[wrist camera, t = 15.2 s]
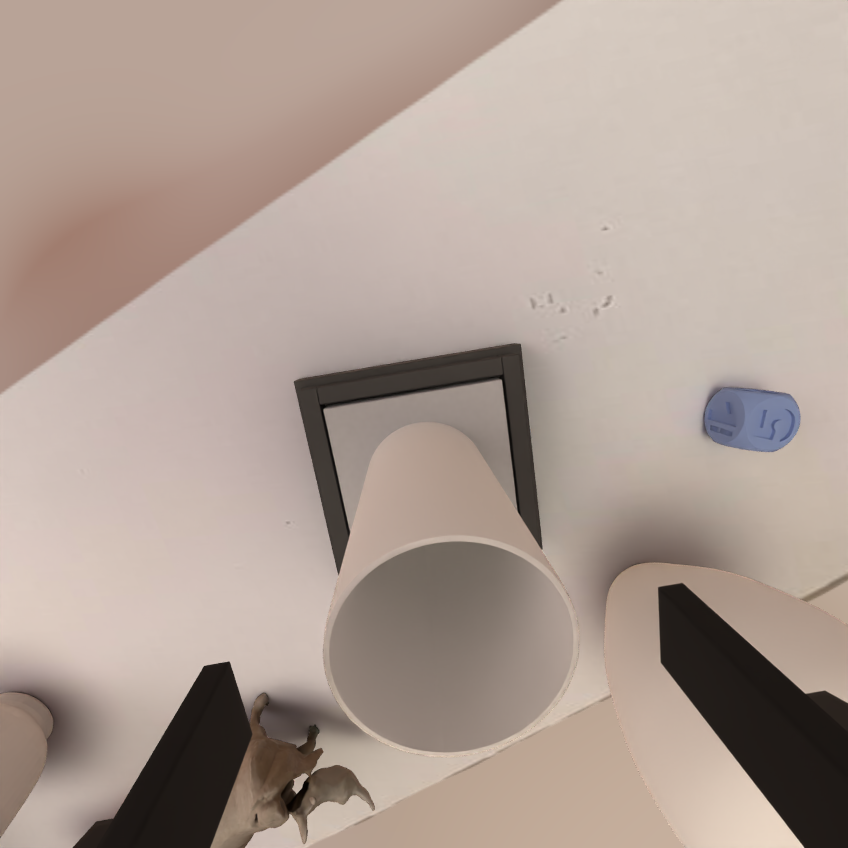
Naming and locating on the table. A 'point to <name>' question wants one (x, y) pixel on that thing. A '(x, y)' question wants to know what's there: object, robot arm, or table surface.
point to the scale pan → (379, 417)
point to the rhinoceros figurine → (280, 786)
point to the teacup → (20, 750)
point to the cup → (445, 605)
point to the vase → (679, 719)
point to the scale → (406, 379)
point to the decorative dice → (752, 419)
